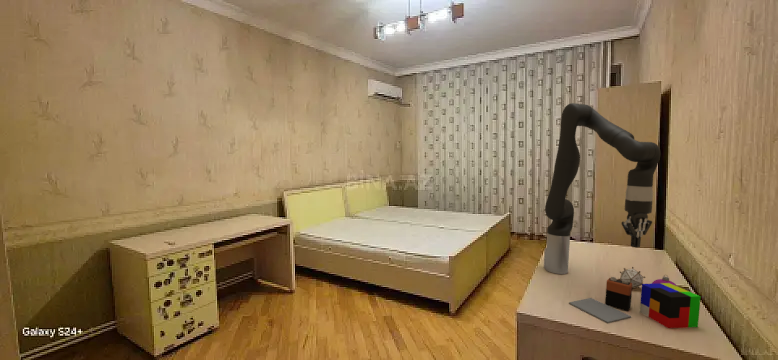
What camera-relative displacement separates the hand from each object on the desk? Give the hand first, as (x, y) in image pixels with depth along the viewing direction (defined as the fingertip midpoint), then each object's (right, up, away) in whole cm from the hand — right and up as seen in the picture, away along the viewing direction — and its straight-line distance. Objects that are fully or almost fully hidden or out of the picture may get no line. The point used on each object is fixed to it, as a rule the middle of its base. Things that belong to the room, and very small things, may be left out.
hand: (635, 247), depth 111 cm
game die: (+10, -20, +15) cm, 27 cm away
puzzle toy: (+3, -22, -9) cm, 24 cm away
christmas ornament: (+13, -21, +3) cm, 25 cm away
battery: (-7, -21, -1) cm, 22 cm away
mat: (-16, -21, -4) cm, 26 cm away
